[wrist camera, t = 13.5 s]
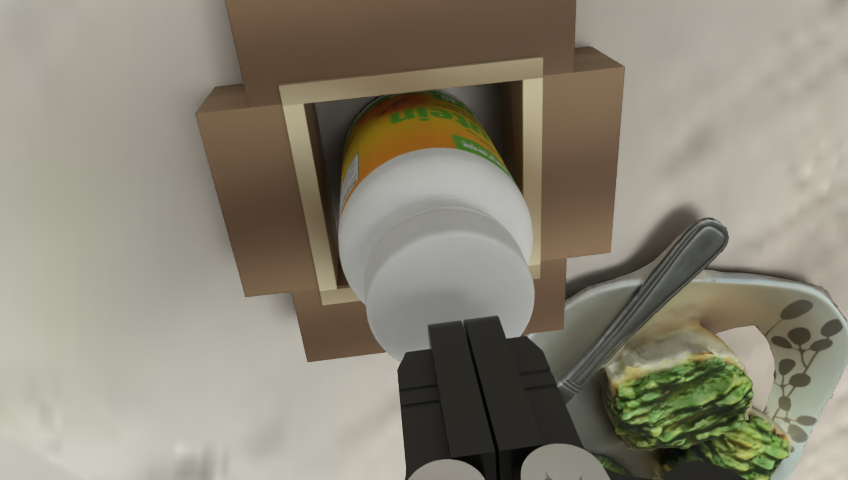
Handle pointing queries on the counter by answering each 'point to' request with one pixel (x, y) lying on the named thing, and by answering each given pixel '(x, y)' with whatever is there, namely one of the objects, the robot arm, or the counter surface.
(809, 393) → the avocado toast plate
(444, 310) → the supplement bottle
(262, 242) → the open cardboard box
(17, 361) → the counter surface
